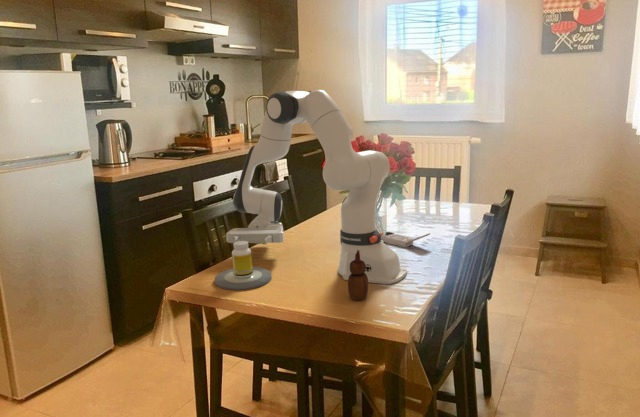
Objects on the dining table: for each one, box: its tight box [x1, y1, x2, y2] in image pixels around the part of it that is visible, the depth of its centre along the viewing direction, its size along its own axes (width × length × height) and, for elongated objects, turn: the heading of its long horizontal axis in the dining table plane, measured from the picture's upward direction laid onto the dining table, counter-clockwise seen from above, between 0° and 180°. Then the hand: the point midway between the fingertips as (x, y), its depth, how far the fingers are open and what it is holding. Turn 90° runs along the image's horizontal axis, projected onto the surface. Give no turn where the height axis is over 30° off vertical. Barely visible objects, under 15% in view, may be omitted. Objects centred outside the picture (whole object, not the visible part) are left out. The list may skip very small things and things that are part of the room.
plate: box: [214, 266, 272, 291], centre depth 171 cm, size 18×18×1 cm
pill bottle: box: [231, 241, 253, 279], centre depth 170 cm, size 6×6×11 cm
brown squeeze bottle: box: [347, 250, 369, 301], centre depth 151 cm, size 7×6×15 cm
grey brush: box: [381, 231, 431, 248], centre depth 203 cm, size 6×6×25 cm
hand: (250, 242), depth 181 cm, fingers open, 8 cm apart
